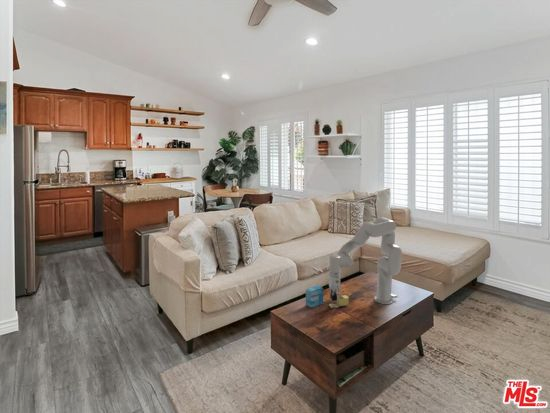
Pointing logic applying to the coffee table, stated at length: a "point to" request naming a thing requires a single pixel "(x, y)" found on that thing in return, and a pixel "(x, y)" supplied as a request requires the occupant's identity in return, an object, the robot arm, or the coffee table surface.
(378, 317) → the coffee table surface
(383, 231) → the robot arm
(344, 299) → the yellow and grey block
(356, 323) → the coffee table surface
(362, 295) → the coffee table surface
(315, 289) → the data package
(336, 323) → the coffee table surface
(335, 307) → the beige striped flat block
